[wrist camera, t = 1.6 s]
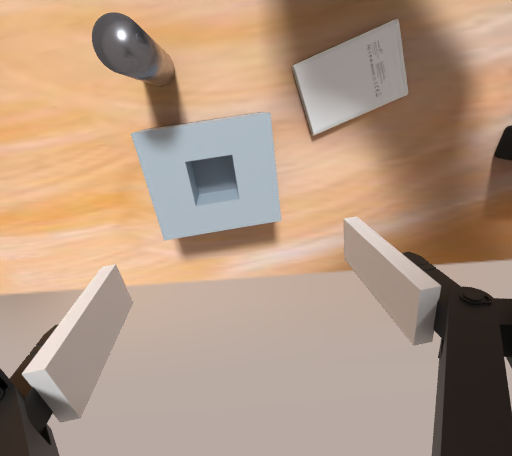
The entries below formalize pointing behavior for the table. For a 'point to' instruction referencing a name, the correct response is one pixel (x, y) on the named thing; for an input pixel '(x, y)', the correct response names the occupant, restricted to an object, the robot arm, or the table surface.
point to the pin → (130, 50)
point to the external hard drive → (352, 77)
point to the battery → (505, 145)
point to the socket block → (210, 174)
